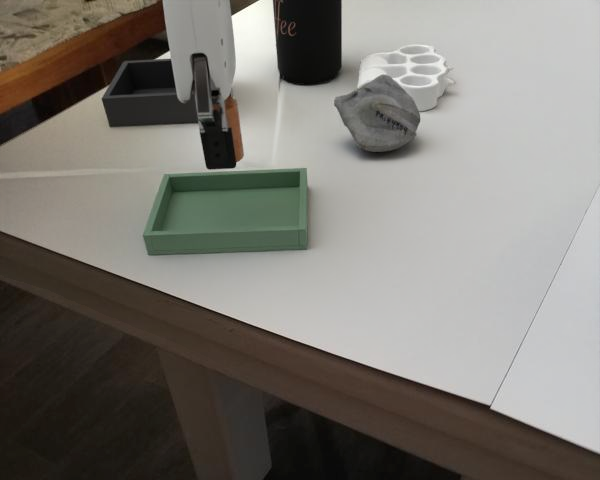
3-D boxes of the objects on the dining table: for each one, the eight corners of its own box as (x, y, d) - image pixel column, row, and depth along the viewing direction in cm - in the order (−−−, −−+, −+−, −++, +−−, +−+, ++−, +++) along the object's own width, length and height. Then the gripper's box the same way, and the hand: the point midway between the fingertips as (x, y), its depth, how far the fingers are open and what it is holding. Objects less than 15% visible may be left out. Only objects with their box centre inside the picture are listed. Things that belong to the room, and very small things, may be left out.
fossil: (337, 163, 77) (337, 99, 71) (332, 133, 83) (331, 71, 77) (422, 156, 77) (429, 92, 71) (410, 127, 83) (415, 65, 77)
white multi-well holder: (361, 67, 99) (449, 66, 97) (355, 112, 87) (456, 111, 85) (361, 45, 97) (452, 43, 95) (356, 88, 85) (459, 87, 83)
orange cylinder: (203, 167, 62) (193, 113, 58) (207, 148, 65) (198, 96, 61) (242, 165, 62) (235, 111, 58) (245, 146, 65) (238, 94, 61)
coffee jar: (275, 65, 102) (265, -65, 88) (336, 59, 102) (336, -72, 89) (281, 89, 95) (271, -49, 81) (346, 82, 95) (347, -56, 82)
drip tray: (148, 255, 65) (142, 235, 63) (168, 192, 74) (163, 173, 72) (306, 249, 64) (305, 229, 62) (307, 186, 73) (306, 167, 71)
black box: (111, 133, 87) (101, 98, 83) (131, 93, 97) (123, 60, 93) (210, 128, 86) (204, 93, 82) (220, 89, 96) (216, 55, 92)
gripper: (164, -71, 56) (199, 125, 69) (126, -25, 44) (178, 198, 58) (242, -77, 55) (263, 121, 69) (224, -32, 44) (253, 194, 58)
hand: (223, 154), depth 63 cm, fingers closed on orange cylinder, 4 cm apart
